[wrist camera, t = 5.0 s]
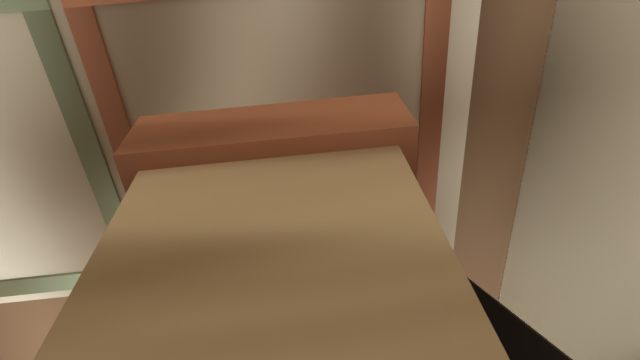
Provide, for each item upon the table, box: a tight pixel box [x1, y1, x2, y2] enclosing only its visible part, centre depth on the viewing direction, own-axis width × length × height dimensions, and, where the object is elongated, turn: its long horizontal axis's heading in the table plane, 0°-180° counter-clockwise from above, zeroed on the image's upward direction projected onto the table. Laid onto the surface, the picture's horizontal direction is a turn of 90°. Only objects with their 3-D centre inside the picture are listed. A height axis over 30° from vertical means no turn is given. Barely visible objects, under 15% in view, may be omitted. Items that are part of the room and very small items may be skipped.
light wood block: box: [33, 92, 510, 360], centre depth 7 cm, size 5×5×6 cm
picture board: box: [0, 0, 557, 360], centre depth 14 cm, size 21×20×3 cm
